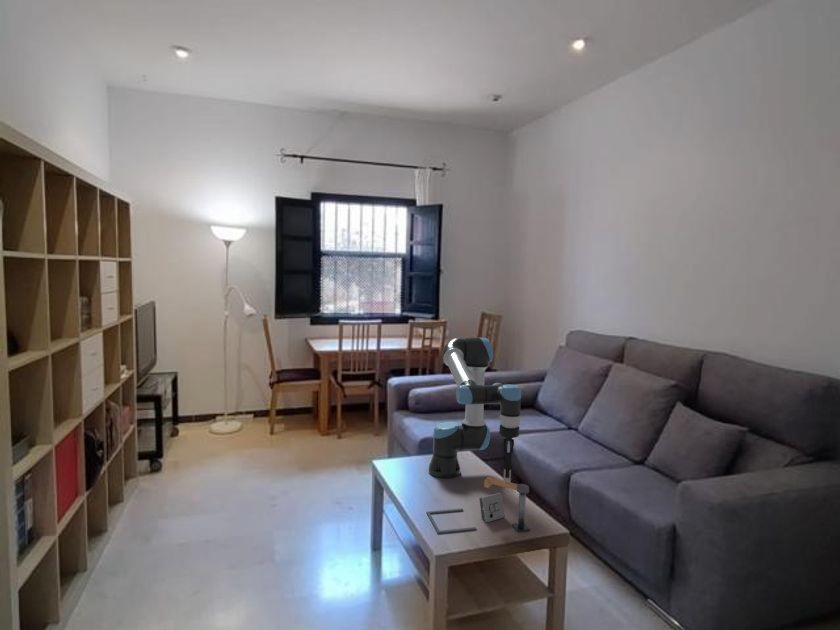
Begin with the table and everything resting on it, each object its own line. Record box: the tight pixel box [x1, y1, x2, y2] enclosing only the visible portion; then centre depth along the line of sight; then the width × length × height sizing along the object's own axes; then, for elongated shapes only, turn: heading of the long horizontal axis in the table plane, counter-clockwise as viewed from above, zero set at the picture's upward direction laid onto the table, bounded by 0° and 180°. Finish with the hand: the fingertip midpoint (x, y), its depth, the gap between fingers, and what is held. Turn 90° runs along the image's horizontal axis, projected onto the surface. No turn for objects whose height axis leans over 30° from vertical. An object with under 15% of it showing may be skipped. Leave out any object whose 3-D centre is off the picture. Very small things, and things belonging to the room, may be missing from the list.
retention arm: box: [483, 476, 530, 495], centre depth 189 cm, size 17×4×4 cm, turn 59°
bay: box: [425, 508, 478, 535], centre depth 191 cm, size 16×15×1 cm
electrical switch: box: [478, 492, 505, 523], centre depth 195 cm, size 9×5×9 cm, turn 121°
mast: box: [511, 492, 531, 533], centre depth 187 cm, size 5×5×14 cm
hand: (506, 484), depth 194 cm, fingers closed
